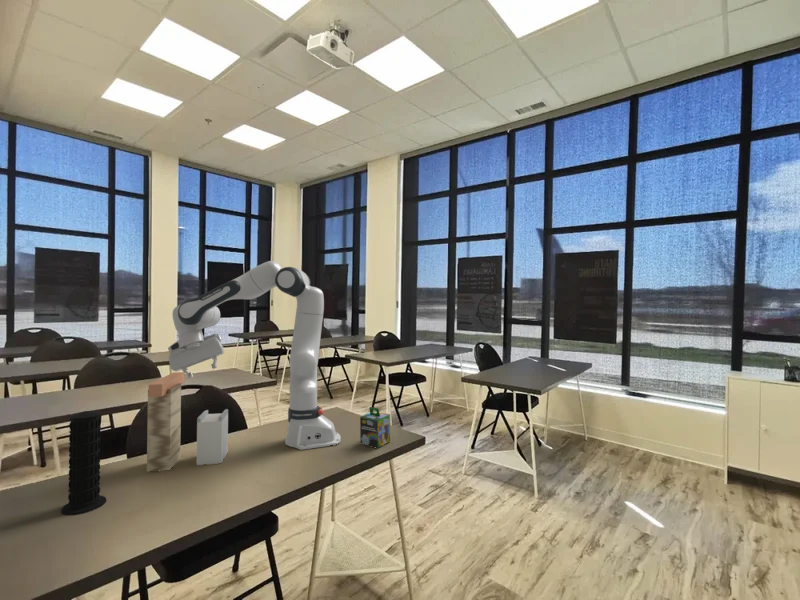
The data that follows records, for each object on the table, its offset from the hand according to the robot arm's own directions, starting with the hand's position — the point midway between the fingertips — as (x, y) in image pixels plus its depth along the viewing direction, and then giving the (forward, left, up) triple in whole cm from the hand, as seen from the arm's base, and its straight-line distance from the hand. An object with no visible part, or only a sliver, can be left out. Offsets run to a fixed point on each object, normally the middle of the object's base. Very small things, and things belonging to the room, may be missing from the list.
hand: (202, 372), depth 157 cm
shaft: (+7, +18, -2) cm, 19 cm away
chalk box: (-69, +13, -29) cm, 76 cm away
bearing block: (+7, +21, -28) cm, 36 cm away
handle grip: (+18, +46, -29) cm, 57 cm away
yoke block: (-8, +18, -28) cm, 35 cm away
